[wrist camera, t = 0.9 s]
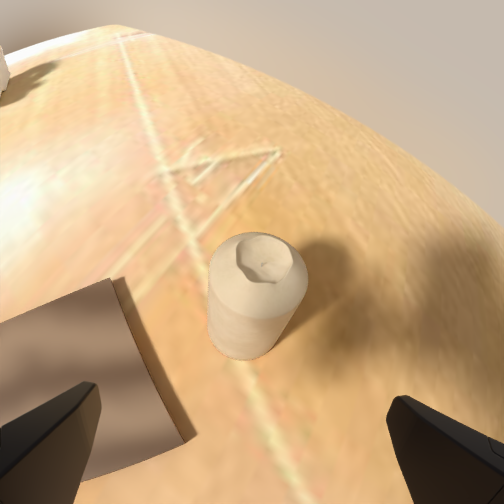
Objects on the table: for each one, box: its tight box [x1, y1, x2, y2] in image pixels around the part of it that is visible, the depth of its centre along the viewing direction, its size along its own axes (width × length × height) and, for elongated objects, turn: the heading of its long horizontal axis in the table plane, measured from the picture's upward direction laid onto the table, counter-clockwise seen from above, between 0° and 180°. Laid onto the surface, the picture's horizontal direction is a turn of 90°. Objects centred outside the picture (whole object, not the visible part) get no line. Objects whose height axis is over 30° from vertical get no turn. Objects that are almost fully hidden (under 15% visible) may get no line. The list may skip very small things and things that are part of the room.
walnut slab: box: [0, 278, 185, 482], centre depth 19 cm, size 14×14×1 cm
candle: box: [207, 232, 308, 361], centre depth 21 cm, size 6×6×10 cm
